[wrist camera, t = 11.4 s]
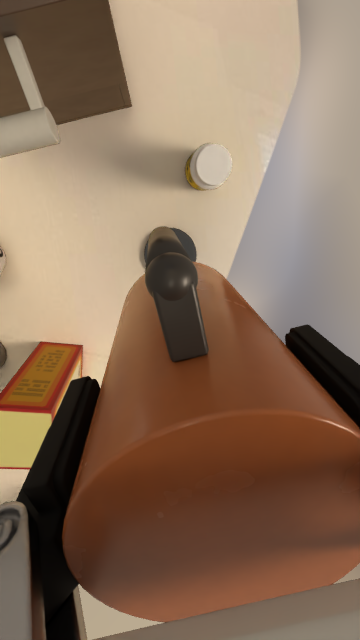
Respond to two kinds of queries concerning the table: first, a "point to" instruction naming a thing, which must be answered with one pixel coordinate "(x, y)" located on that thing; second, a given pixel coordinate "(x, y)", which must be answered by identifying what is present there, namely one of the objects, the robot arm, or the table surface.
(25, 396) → the baking soda box
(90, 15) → the box top
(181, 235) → the coaster
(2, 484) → the table surface
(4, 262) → the cup
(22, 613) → the robot arm
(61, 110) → the dark wooden lidded box
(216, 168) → the supplement bottle
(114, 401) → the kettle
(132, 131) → the table surface
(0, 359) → the toaster
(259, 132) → the table surface
